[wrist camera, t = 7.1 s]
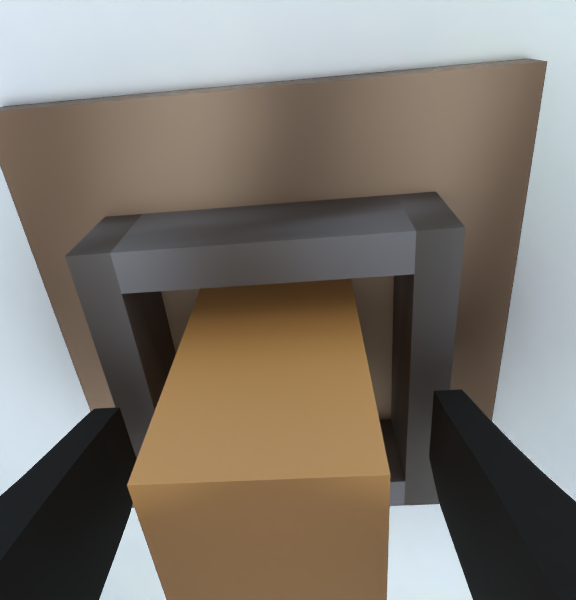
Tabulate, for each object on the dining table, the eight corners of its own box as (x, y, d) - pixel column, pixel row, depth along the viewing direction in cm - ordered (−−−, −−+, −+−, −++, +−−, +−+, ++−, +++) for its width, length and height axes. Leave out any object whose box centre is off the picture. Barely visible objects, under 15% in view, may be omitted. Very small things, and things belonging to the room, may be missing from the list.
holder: (528, 58, 12) (609, 70, 9) (472, 471, 19) (506, 559, 15) (3, 106, 12) (-94, 133, 9) (134, 485, 19) (102, 572, 16)
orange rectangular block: (349, 269, 13) (390, 475, 7) (351, 385, 15) (385, 623, 9) (204, 279, 14) (126, 485, 8) (224, 391, 16) (176, 628, 9)
